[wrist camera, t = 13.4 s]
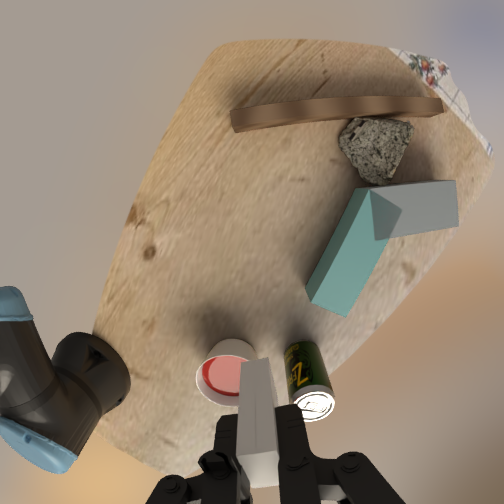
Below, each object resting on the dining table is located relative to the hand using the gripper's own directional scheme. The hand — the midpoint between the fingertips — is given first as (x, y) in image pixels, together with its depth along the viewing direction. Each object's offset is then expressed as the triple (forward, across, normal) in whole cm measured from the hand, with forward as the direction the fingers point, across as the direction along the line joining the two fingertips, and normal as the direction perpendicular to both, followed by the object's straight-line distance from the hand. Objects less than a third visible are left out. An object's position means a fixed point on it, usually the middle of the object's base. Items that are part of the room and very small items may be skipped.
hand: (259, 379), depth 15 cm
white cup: (+24, -6, -13) cm, 28 cm away
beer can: (+24, +4, -14) cm, 28 cm away
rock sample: (+23, +18, +12) cm, 32 cm away
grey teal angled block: (+23, +17, 0) cm, 28 cm away
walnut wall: (+23, +15, +18) cm, 33 cm away
